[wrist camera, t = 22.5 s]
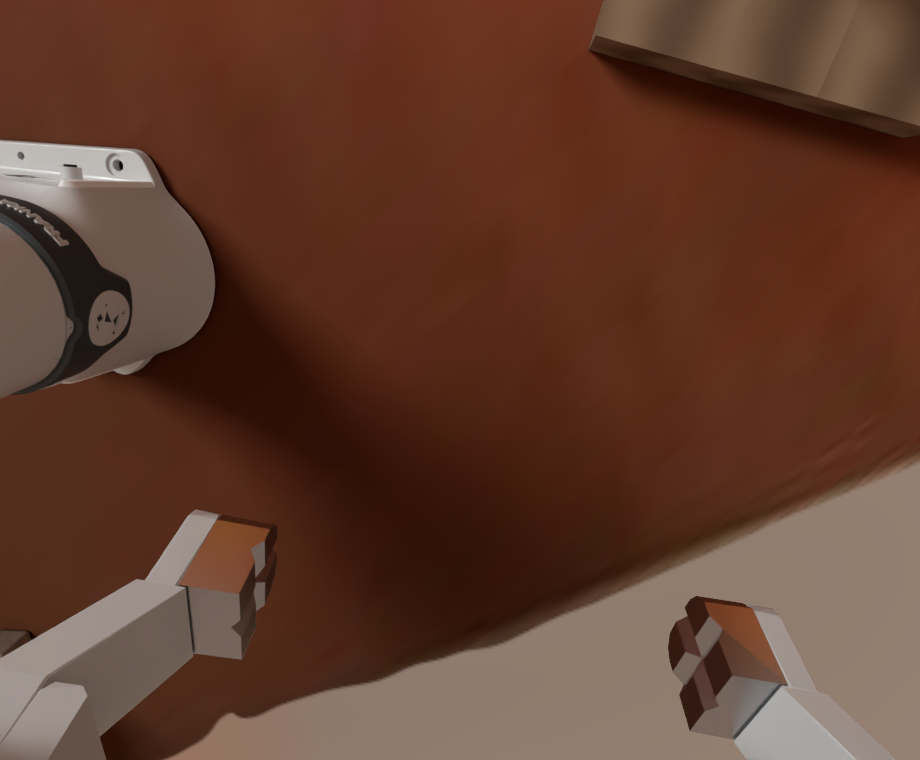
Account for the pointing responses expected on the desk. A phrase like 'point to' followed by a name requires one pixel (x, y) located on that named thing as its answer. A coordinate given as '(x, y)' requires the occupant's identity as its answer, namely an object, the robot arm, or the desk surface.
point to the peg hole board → (782, 52)
